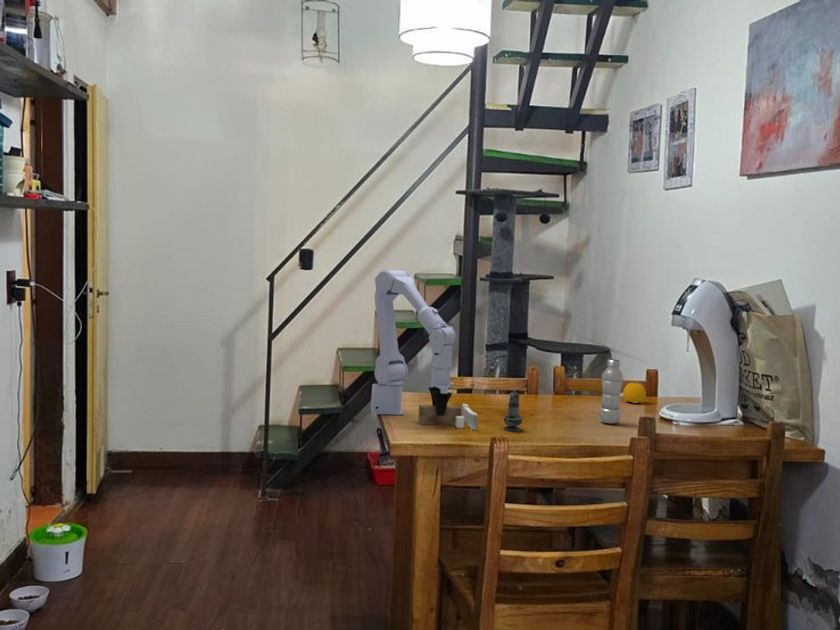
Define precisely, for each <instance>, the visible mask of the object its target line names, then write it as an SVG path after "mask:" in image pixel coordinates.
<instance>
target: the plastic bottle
mask: <svg viewBox="0 0 840 630" xmlns="http://www.w3.org/2000/svg"><path fill="white" fill-rule="evenodd" d="M606 365H607V367H606V368H605V370H604V371H603V372H602V373H601V383H602V384H601V385H602V396H601V397H602V398H601V404H600V407H599V412H598V417H599V421H600V422H602V423H604V424H607V423H610V424H609V425H615V424H619V422H620V420H621V415H622V414H621V408H620V407H621V403H620V402H621V401H620V399H621V390H622V386H623V381H624V376H623V373H622V371H621V369H620V368H619V367H620V366H621V361H620V359H616V358H615V359H614V358H609V359H607V363H606Z"/></svg>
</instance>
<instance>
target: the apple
mask: <svg viewBox="0 0 840 630" xmlns="http://www.w3.org/2000/svg"><path fill="white" fill-rule="evenodd" d="M622 395H623V396H622V397H623V399H624V401H626V400H627V401H630V402H642V403H644V401H645V400H646V398H647V391H646V389H645V387H644V386H643V384H641V383H638V382H629V383H627V384H626V385H625V387H624V388H623V392H622ZM627 401H626V402H627Z"/></svg>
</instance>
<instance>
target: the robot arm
mask: <svg viewBox="0 0 840 630" xmlns="http://www.w3.org/2000/svg"><path fill="white" fill-rule="evenodd" d="M374 283H375V292H374V305H375V314H376V315H375V316H376V322H377V331H378V339H379V341H378V342H379V347H380V350H379V351H380V354H379V356H378V357H377V358H376V359H375V368H374V378H375V380H376V381H377V383H373V384H371V386H372V387H371V401H370V410H371V413H372V414H373V415H398V416H399V415H404V411H403V410H402V401H403V400H402V398H403V397H402V396H403V385H404V383H405V381H406V380H407V378H408V375H409V368H408V365H407V363H406V360H405V357H404V355H402V354H401V353H400V351H399V343H398V335H397V328H396V327H397V326H396V317H395V310H394V308H395V307H394V301H395V300H396V298H397V297H398V296H399V295H402V296H404V298H405V299H406V300H407V301H408V302H409V304H410V305H411V306H412V307H413V308H414V310H415V311H416V312H417V313H418V314H417V315H418V316H417V320H418V321H419V322H420V324H421V325H422V327H423V328H424V329H425V331H426V332H427V333H428V341H429V343H430V345H431V352H432V357H431V372H430V382H429V385H430V386H428V390H429V393H430V396H431V402H432V403H431V404H432V405H433V406H436V414H437V415H438V416H444V414H445V410H446V407H447V406H448V402H449V401H450V399H451V397H452V395H453V393H452V392H449V388H450V387H451V386H452V387H454V386H455V383H454V382H453V381H451V377H452V376H451V374H452V355H453V345H455V344H456V342H457V338H458V334H457V332H456V330H455V327H453V326H450V325H448V324H447V322H446V321H444V320H443V318H442V317H441V316H440V315H439V310H438V309H437V308H434V307H432V306H428V305H427V303H426V301H425V300H424V297H422V295H421V293H420V291H419V290H418V289H417V287H416V285H415V284H414V278H413V277H412V276H411V275H410V273H409V271H407V270H403V269H401V270H399V269H398V270H395V269H393V270H390V269H382V270H381V271H379V273H378V274H377V275H376V277H375V279H374Z"/></svg>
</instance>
